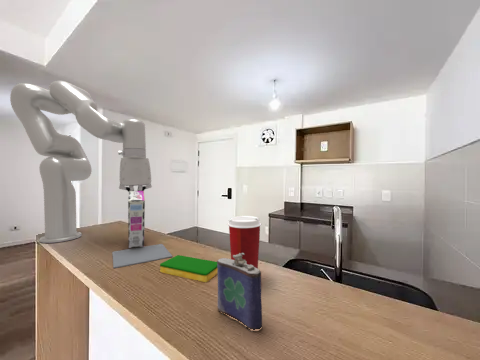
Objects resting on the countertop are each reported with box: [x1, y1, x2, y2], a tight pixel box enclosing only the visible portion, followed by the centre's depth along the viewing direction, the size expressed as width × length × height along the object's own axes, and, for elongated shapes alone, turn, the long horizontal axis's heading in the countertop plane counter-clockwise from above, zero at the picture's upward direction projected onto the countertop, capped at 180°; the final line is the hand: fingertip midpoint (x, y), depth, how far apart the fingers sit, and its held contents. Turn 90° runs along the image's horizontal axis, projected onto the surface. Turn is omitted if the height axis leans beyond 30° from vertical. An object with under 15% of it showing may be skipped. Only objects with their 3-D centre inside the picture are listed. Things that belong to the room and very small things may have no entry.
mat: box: [111, 243, 173, 269], centre depth 67 cm, size 14×15×1 cm
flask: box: [216, 253, 263, 330], centre depth 37 cm, size 9×3×11 cm, turn 48°
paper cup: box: [226, 215, 262, 269], centre depth 50 cm, size 8×8×14 cm
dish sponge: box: [159, 254, 218, 283], centre depth 55 cm, size 7×14×2 cm, turn 66°
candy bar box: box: [127, 190, 146, 249], centre depth 75 cm, size 11×5×16 cm, turn 25°
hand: (136, 204), depth 81 cm, fingers closed
